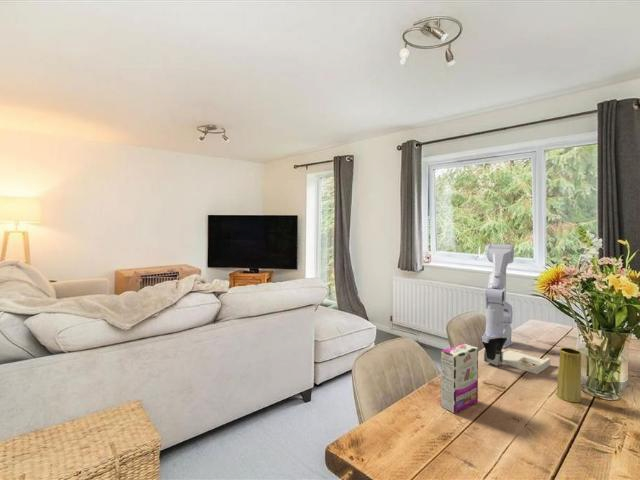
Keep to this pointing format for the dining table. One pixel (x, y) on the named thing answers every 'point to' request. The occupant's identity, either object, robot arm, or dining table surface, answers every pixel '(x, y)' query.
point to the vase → (569, 375)
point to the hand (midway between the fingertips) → (493, 357)
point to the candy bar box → (459, 377)
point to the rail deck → (518, 358)
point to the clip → (496, 360)
